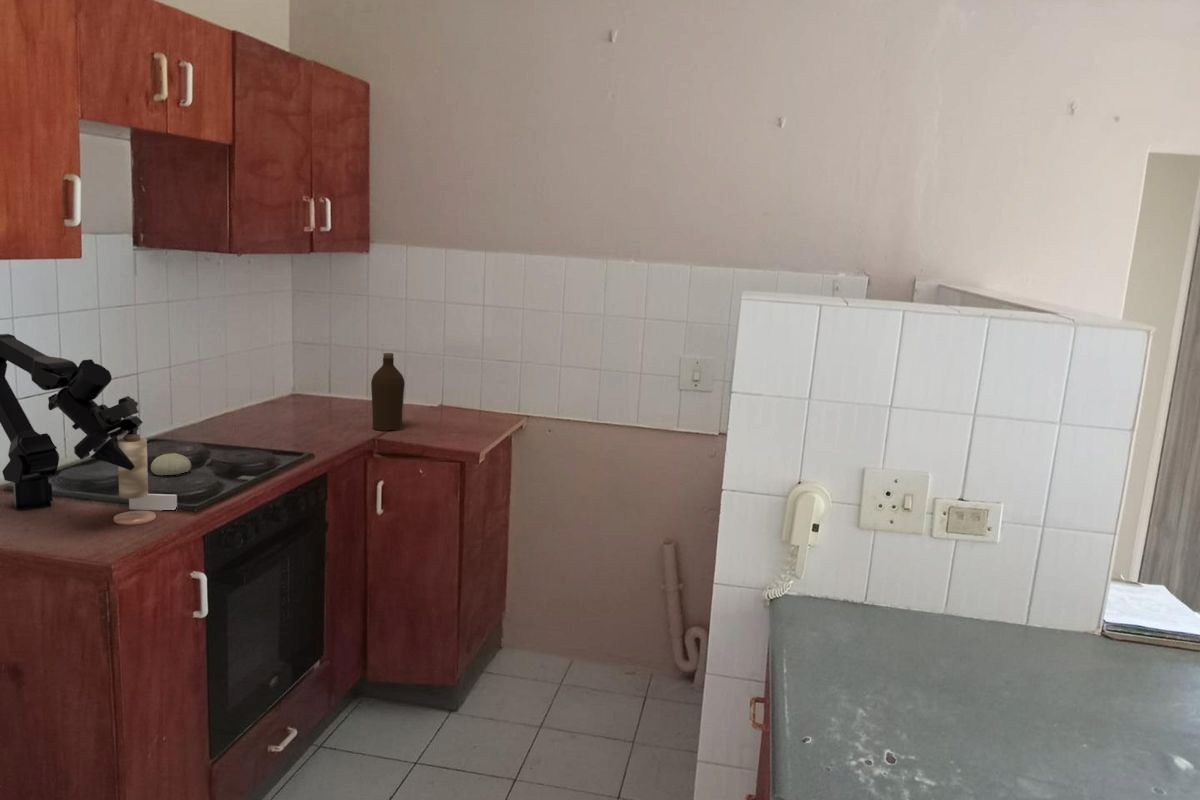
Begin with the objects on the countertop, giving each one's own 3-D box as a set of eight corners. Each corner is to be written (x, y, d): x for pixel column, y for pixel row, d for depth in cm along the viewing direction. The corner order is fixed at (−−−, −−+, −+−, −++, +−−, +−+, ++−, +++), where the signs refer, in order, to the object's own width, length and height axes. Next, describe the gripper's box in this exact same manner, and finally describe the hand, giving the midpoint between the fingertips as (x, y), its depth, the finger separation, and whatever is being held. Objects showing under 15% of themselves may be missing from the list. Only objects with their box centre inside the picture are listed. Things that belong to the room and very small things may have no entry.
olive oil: (379, 433, 283) (380, 356, 278) (365, 426, 291) (366, 351, 286) (409, 430, 289) (410, 355, 285) (394, 424, 297) (396, 350, 293)
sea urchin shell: (200, 466, 225) (178, 447, 220) (179, 490, 222) (155, 472, 217) (184, 459, 231) (162, 440, 226) (163, 483, 228) (140, 465, 223)
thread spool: (122, 499, 184) (120, 439, 181) (116, 493, 188) (114, 434, 186) (151, 496, 187) (149, 437, 185) (144, 489, 191) (143, 431, 189)
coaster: (118, 527, 183) (118, 524, 183) (109, 516, 189) (109, 514, 189) (160, 521, 188) (160, 518, 188) (150, 511, 194) (150, 508, 194)
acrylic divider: (129, 509, 194) (128, 494, 194) (131, 508, 195) (130, 493, 195) (175, 510, 195) (175, 495, 194) (177, 509, 196) (176, 494, 195)
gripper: (87, 394, 174) (146, 450, 177) (132, 379, 192) (184, 431, 195) (48, 430, 175) (107, 486, 178) (96, 412, 193) (149, 463, 196)
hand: (139, 465), depth 186 cm, fingers closed on thread spool, 5 cm apart
